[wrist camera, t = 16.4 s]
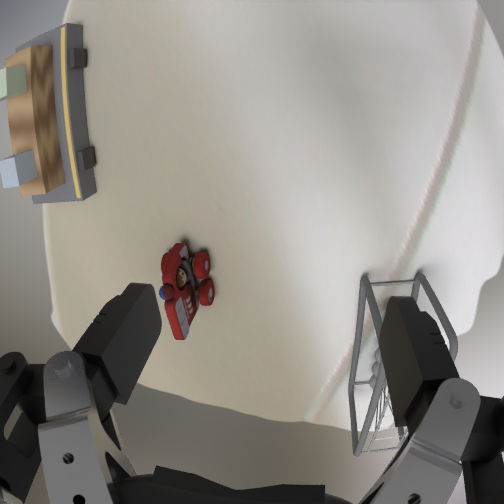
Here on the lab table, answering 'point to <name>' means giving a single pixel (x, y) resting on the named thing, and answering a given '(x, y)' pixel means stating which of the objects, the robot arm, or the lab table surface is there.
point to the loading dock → (69, 114)
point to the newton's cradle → (379, 377)
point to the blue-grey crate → (18, 169)
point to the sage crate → (12, 82)
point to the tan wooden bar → (36, 119)
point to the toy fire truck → (184, 287)
